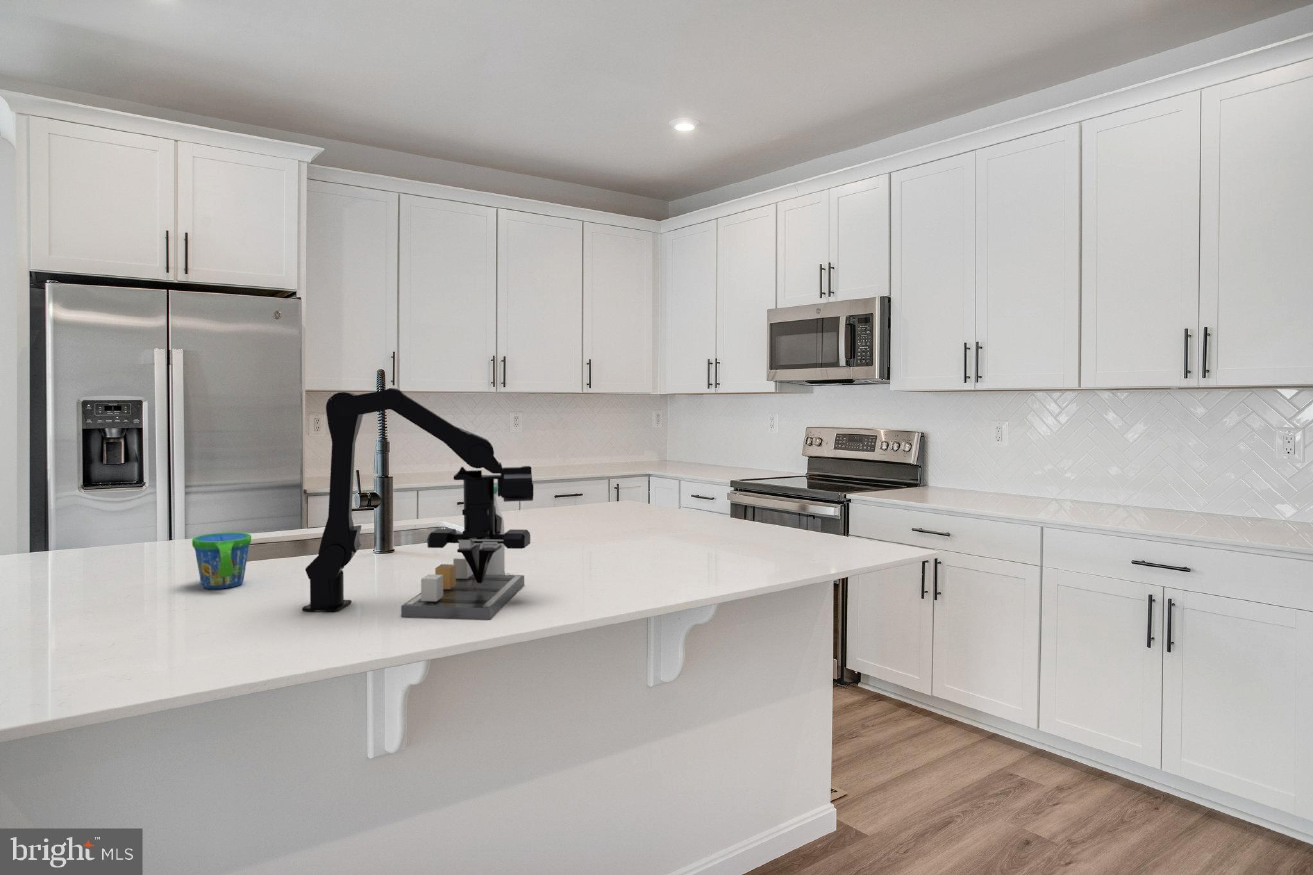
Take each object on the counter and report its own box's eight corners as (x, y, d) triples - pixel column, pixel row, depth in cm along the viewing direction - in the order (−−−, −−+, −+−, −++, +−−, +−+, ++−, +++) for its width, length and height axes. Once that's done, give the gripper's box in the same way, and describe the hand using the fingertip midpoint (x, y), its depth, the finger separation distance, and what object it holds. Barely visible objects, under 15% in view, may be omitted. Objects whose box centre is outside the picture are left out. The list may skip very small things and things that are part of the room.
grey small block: (436, 601, 139) (436, 579, 139) (421, 600, 140) (421, 578, 139) (443, 596, 143) (443, 574, 143) (428, 595, 143) (428, 574, 143)
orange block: (449, 589, 148) (449, 568, 148) (435, 588, 149) (435, 568, 148) (455, 584, 152) (455, 564, 152) (441, 584, 152) (441, 564, 152)
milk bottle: (508, 573, 174) (508, 484, 173) (498, 580, 166) (498, 487, 165) (475, 571, 174) (475, 483, 173) (463, 579, 167) (463, 487, 166)
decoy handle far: (467, 578, 157) (466, 558, 157) (453, 578, 158) (453, 558, 157) (472, 574, 161) (472, 555, 161) (459, 574, 161) (459, 555, 161)
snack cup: (252, 591, 155) (251, 540, 154) (190, 597, 150) (189, 544, 150) (251, 575, 169) (251, 529, 168) (195, 580, 164) (194, 532, 163)
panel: (490, 619, 137) (490, 607, 137) (401, 617, 138) (401, 605, 138) (524, 584, 163) (524, 575, 163) (449, 582, 164) (449, 573, 163)
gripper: (536, 497, 157) (536, 574, 157) (445, 497, 158) (446, 573, 159) (523, 505, 146) (524, 587, 146) (425, 504, 147) (427, 586, 147)
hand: (480, 582), depth 150 cm, fingers closed
